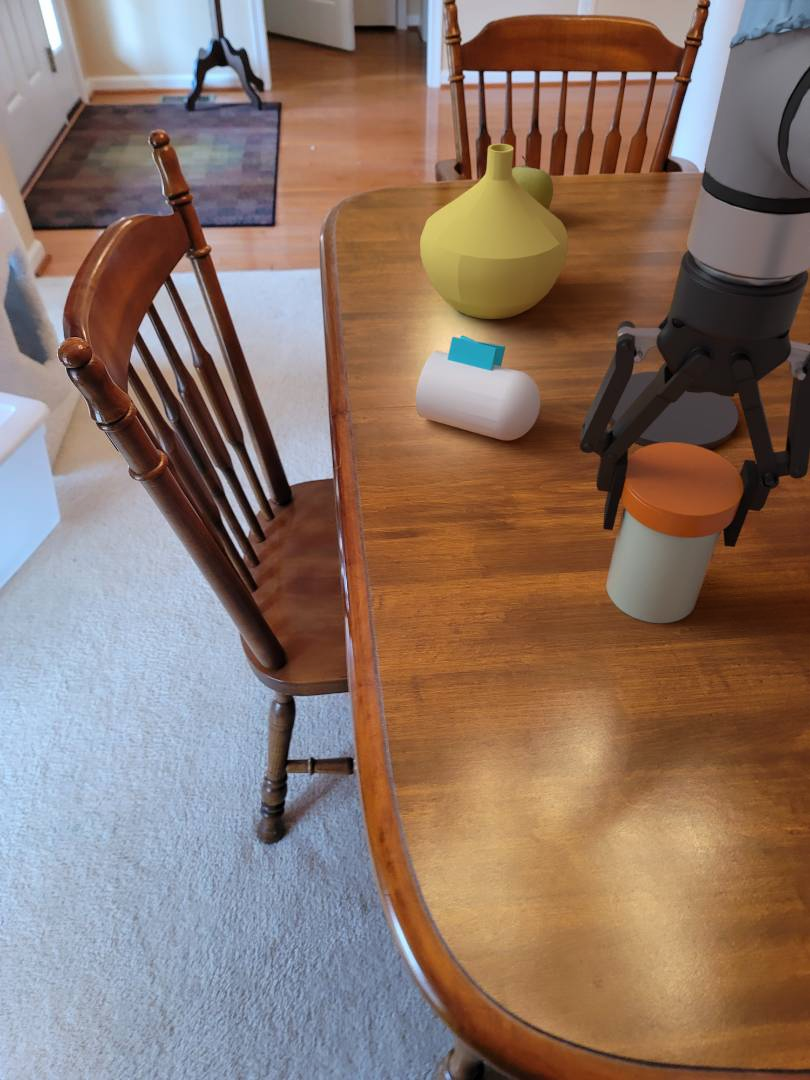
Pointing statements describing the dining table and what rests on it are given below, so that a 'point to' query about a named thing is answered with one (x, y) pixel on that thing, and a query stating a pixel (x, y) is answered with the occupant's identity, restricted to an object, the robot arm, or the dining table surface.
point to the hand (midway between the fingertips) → (667, 526)
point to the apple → (535, 183)
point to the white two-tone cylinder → (477, 391)
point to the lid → (681, 489)
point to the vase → (494, 245)
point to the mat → (683, 416)
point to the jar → (657, 571)
